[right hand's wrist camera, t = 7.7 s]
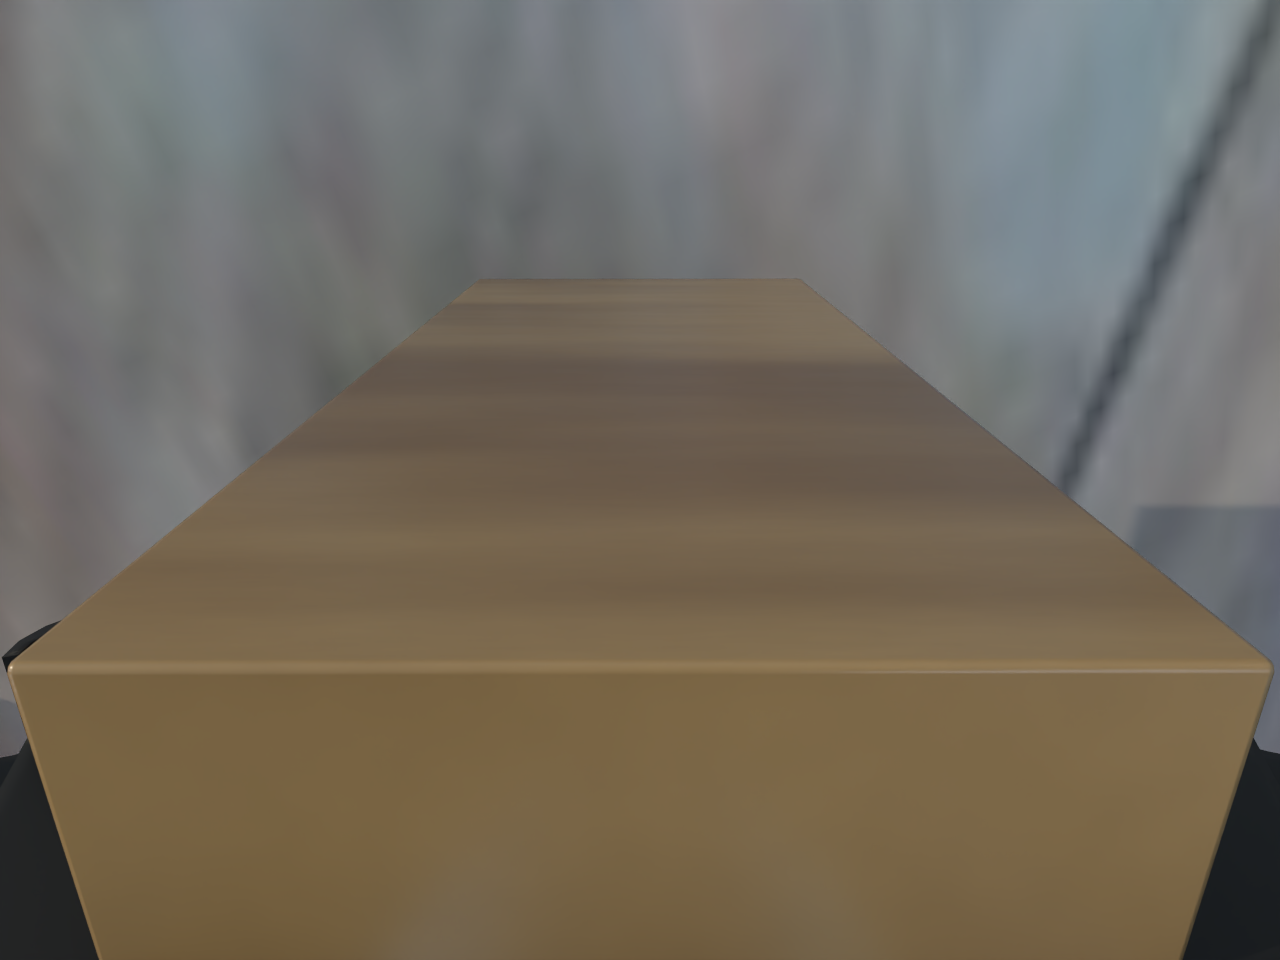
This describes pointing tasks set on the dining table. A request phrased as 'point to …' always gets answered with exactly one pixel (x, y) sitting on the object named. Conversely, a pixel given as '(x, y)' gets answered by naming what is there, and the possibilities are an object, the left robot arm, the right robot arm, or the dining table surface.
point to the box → (640, 668)
